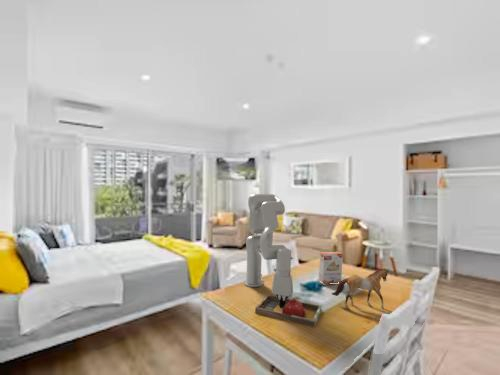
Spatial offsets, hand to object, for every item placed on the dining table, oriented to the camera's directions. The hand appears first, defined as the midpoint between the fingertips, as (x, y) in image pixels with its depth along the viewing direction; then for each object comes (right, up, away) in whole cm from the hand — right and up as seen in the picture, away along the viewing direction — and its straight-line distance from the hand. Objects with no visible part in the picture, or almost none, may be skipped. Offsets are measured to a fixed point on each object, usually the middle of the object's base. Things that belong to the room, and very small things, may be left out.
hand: (282, 307), depth 142 cm
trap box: (+3, -2, -1) cm, 4 cm away
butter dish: (+5, -3, -4) cm, 7 cm away
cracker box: (+37, -2, +39) cm, 54 cm away
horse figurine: (+44, -3, +10) cm, 45 cm away
